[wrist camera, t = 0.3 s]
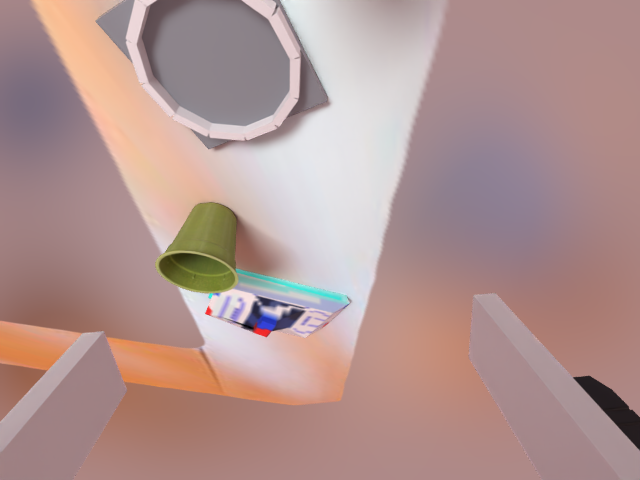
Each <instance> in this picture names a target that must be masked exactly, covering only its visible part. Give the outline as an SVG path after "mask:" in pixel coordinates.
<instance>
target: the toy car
mask: <svg viewBox="0 0 640 480" xmlns="http://www.w3.org/2000/svg"><path fill="white" fill-rule="evenodd" d="M236 272H237V274H238V278H239V280H238V284H237V285H236V286H235V287H234V288H233V289H231V290H229V291H226V292H222V293H210V294H209V297H208V298H210V299H211V300H210V303H209V306H208V308H207V311H206V313H205V314H207V315H209V316H212V317H215V318H217V319H220V320H223V321H225V322H228V323H230V324H233V325H236V326H238V327H241V328H244V329H246V330H249V331H251V332H253V333H256V334H259V335H262V336H264V337H267V336H268V335H269V334H270V333H271V331H278V332H282V333H286V334H291V335H295V336H299V337H303V338H306V337H308V336H309V335H311V334H313V333H314V332H316V331H318V330H319V329H321V328H323V327H324V326H325V325H326V324H328V323H329V322H330V321H331V320H332V319H333V318H334V317H335V316H336V315H337V314H339V313H340V312H341V311H342V310H343V309H344V308H345V307H346V306H347V305H348V304H350V302H349V300H348V298H347V296H346V295H343V294H339V293H335V292H331V291H326V290H322V289H318V288H314V287H310V286H306V285H302V284H298V283H294V282H290V281H286V280H282V279H278V278H274V277H270V276H266V275H261V274H257V273H253V272H249V271H244V270H240V269H236Z"/></svg>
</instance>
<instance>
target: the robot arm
mask: <svg viewBox="0 0 640 480" xmlns="http://www.w3.org/2000/svg"><path fill="white" fill-rule="evenodd" d="M469 359H470V361H471V362H472V364H473V366H474V367H475V369H476V371H477V372H478V374H479V376H480V377H481V379H482V381H483V382H484V384H485V386H486V388H487V389H488V391H489V393H490V394H491V396H492V397H493V399H494V401H495V403H496V404H497V406H498V407H499V409H500V411H501V412H502V414H503V416H504V418H505V419H506V421H507V423H508V424H509V426H510V427H511V429H512V431H513V433H514V434H515V436H516V437H517V439H518V441H519V443H520V445H521V446H522V448H523V450H524V451H525V453H526V455H527V456H528V458H529V459H530V461H531V463H532V465H533V466H534V468H535V469H536V471H537V473H538V475H539V476H540V478H541V480H640V417H639V416H638V415H637V414H636V413H635V412H634V411H633V410H630V409H629V406H628V405H627V404H626V403H625V402H624V401H623V400H622V399H621V398H620V397H619V396H618V395H617V394H616V393H614V392H613V390H612V389H610V388H608V387H607V386H605V385H603V384H602V383H600V382H599V381H597V380H595V379H594V378H592V377H591V376H583V377H572V376H571V375H570V374H569V373H568V372H567V371H566V370H565V369H564V368H563V366H562V365H561V364H560V363H559V362H558V361H557V360H556V359H555V358H554V357H553V356H552V354H551V353H550V352H549V351H548V350H547V349H546V348H545V347H544V346H543V345H542V344H541V342H540V341H539V340H538V339H537V338H536V337H535V336H534V335H533V334H532V333H531V332H530V331H529V330H528V328H527V327H526V326H525V325H524V324H523V323H522V322H521V321H520V320H519V318H518V317H517V316H516V315H515V314H514V313H513V312H512V311H511V310H510V309H509V308H508V307H507V305H505V303H504V302H503V301H502V300H501V299H500V298H499V297H498V296H497V294H496V293H491V294H480V295H474V296H473V307H472V320H471V333H470V347H469ZM126 391H127V389H126V387H125V384H124V381H123V379H122V376H121V374H120V371H119V369H118V366H117V364H116V361H115V358H114V356H113V353H112V351H111V348H110V346H109V343H108V341H107V338H106V335H105V333H104V331H102V332H93V333H82V334H81V336H80V337H79V338H78V339H77V340H76V341H75V342H74V343H73V344H72V345H71V346H70V347H69V349H68V350H67V351H66V352H65V353H64V354H63V355H62V356H61V357H60V358H59V359H58V360H57V361H56V363H55V364H54V365H53V366H52V367H51V368H50V369H49V370H48V371H47V372H46V373H45V374H44V376H43V377H42V378H41V379H40V380H39V381H38V382H37V383H36V384H35V385H34V386H33V387H32V388H31V390H30V391H29V392H28V393H27V394H26V395H25V396H24V397H23V398H22V399H21V400H20V402H18V403H17V405H16V406H15V407H14V408H13V409H12V410H11V411H10V412H9V413H8V414H7V415H6V417H5V418H4V419H3V420H2V421H1V422H0V480H73V479H74V477H75V476H76V474H77V472H78V471H79V469H80V467H81V466H82V464H83V462H84V461H85V459H86V457H87V456H88V454H89V453H90V451H91V449H92V447H93V446H94V444H95V443H96V441H97V439H98V438H99V436H100V434H101V433H102V431H103V429H104V428H105V426H106V424H107V422H108V421H109V419H110V418H111V416H112V414H113V413H114V411H115V409H116V408H117V406H118V404H119V403H120V401H121V400H122V398H123V396H124V395H125V393H126Z"/></svg>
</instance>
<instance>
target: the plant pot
mask: <svg viewBox="0 0 640 480" xmlns="http://www.w3.org/2000/svg"><path fill="white" fill-rule="evenodd" d="M236 225H237V220H236V217H235V216H234V214H233V212H232V211H231V210H230V209H228V208H227V207H225V206H223V205H220V204H217V203H211V202H209V203H205V204H201V203H200V204H198V205H196V206H195V207H194V208H193V210H192V211H191V213H190V215H189V216H188V218H187V220H186V221H185V223H184V225H183V226H182V228H181V230H180V231H179V233H178V235H177V236H176V238H175V239H174V241H173V243H172V244H171V245H170V246H169V247H168V248H167V250H166V252H165V253H163V254H162V255H160V256H159V257H158V258H157V260H156V262H155V266H156V269H157V271H158V273H159V274H160V275H161V276H162V277H163V278H164V279H166V280H167V281H168V282H170V283H172V284H174V285H176V286H178V287H180V288H183V289H186V290H189V291H193V292H200V293H222V292H226V291H229V290H231V289H233V288H234V287H235V286H236V285H237V284H238V280H239V278H238V274H237V272H236V262H235V246H236Z"/></svg>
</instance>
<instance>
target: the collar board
mask: <svg viewBox="0 0 640 480" xmlns="http://www.w3.org/2000/svg"><path fill="white" fill-rule="evenodd" d="M96 23H97V24H98V25H99V26H100V27H101V28H102V29H103V30H104V32H105V33H106V34H107V35H108V36H109V37H110V38H111V40H112V41H113V42H114V43H115V44H116V45H117V46H118V47H119V49H120V50H121V51H122V52H123V53H124V54H125V55H126V56H127V58H128V59H129V60H130V61H131V62H132V63H133V65H134V68H135V71H136V74H137V77H138V80H139V83H143V84H142V87H143V88H144V89H145V91H146V92H147V93H148V94H149V95H150V96H151V97H152V98H153V99H154V100H155V101H156V103H157V104H158V105H159V106H160V107H161V108H162V109H163V110H164V111H165V112H166V114H167V115H168V116H169V117H171V116H173V115H174V116H173V120H175V121H177V122H179V123H181V124H183V125H185V126H187V127H189V128H190V129H191V130H192V131H193V132H194V133H195V134H196V136H197V137H198V138H199V139H200V140H201V141H202V142H203V144H204V145H205V146H206V147H207V148H208V149H211V148H213V147H216V146H218V145H221V144H223V143H225V142H228V141H230V140H241V141H245V138H246V139H247V140H250V139H252V138H255V137H257V136H260V135H263V134H265V133H268V132H270V131H273V130H275V129H277V126H278V127H280V125H281V124H282V122H283V121H284V120H285V118H287V117H290V116H292V115H295V114H297V113H299V112H302V111H304V110H307V109H309V108H312V107H314V106H317V105H319V104H322V103H324V102H327V95H326V93H325V91H324V89H323V87H322V85H321V83H320V81H319V79H318V77H317V75H316V73H315V71H314V69H313V67H312V65H311V63H310V61H309V59H308V57H307V55H306V53H305V51H304V49H303V47H302V45H301V43H300V41H299V39H298V37H297V35H296V33H295V31H294V29H293V27H292V25H291V23H290V21H289V19H288V16H287V14H286V12H285V10H284V8H283V6H282V4H281V2H280V0H124V1H122V2H121V3H119V4H118V5H116V6H115V7H113V8H112V9H110V10H109V11H107V12H106V13H104V14H103V15H101V16H100V17H99V18H98V19H97V20H96Z"/></svg>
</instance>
